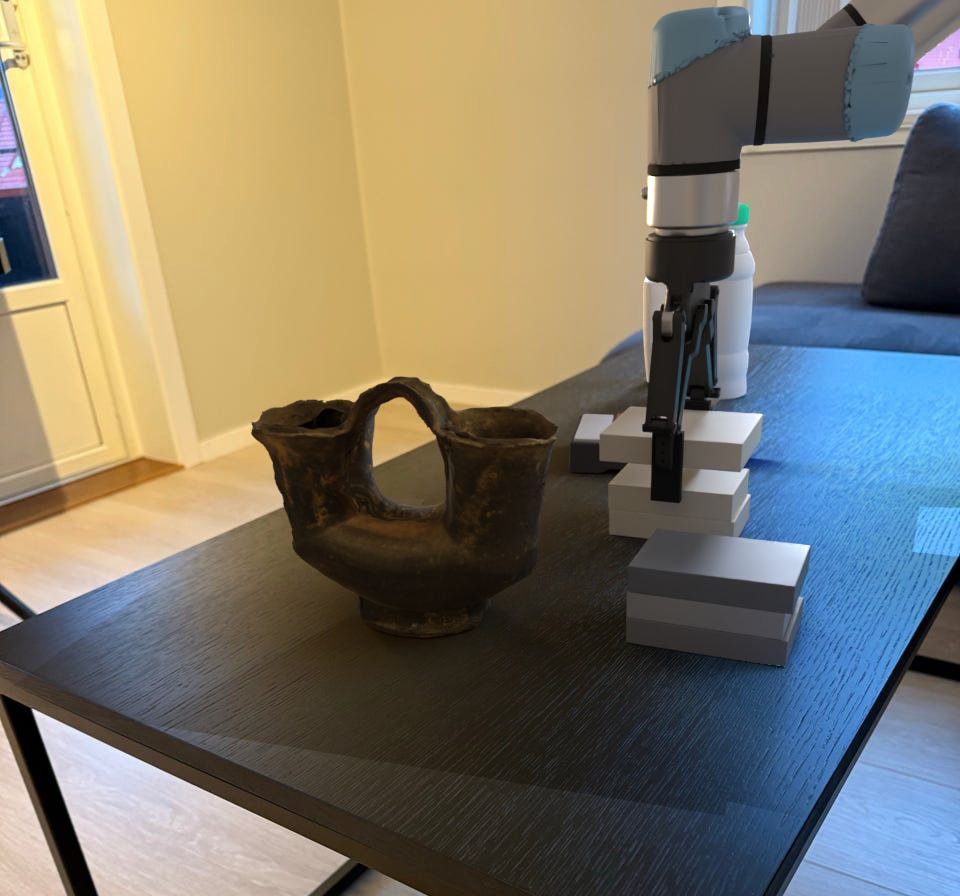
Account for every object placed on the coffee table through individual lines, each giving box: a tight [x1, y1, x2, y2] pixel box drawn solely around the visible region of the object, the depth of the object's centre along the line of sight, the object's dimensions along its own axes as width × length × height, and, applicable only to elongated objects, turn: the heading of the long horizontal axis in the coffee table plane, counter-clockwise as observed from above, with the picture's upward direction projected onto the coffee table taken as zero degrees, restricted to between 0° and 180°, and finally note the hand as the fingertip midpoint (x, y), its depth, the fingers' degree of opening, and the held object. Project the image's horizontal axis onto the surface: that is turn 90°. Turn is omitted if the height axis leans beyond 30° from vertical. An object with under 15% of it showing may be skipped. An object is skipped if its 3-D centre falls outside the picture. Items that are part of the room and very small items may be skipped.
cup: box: [642, 277, 667, 384], centre depth 136 cm, size 7×7×15 cm
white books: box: [607, 463, 751, 540], centre depth 90 cm, size 12×8×5 cm, turn 65°
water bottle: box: [707, 202, 756, 410], centre depth 122 cm, size 7×7×25 cm
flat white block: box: [600, 405, 764, 472], centre depth 87 cm, size 13×10×3 cm
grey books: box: [625, 529, 812, 668], centre depth 71 cm, size 12×8×7 cm, turn 65°
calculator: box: [568, 413, 628, 474], centre depth 109 cm, size 11×4×15 cm
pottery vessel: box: [250, 375, 559, 639], centre depth 75 cm, size 25×11×20 cm, turn 71°
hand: (680, 481), depth 89 cm, fingers closed on flat white block, 9 cm apart
